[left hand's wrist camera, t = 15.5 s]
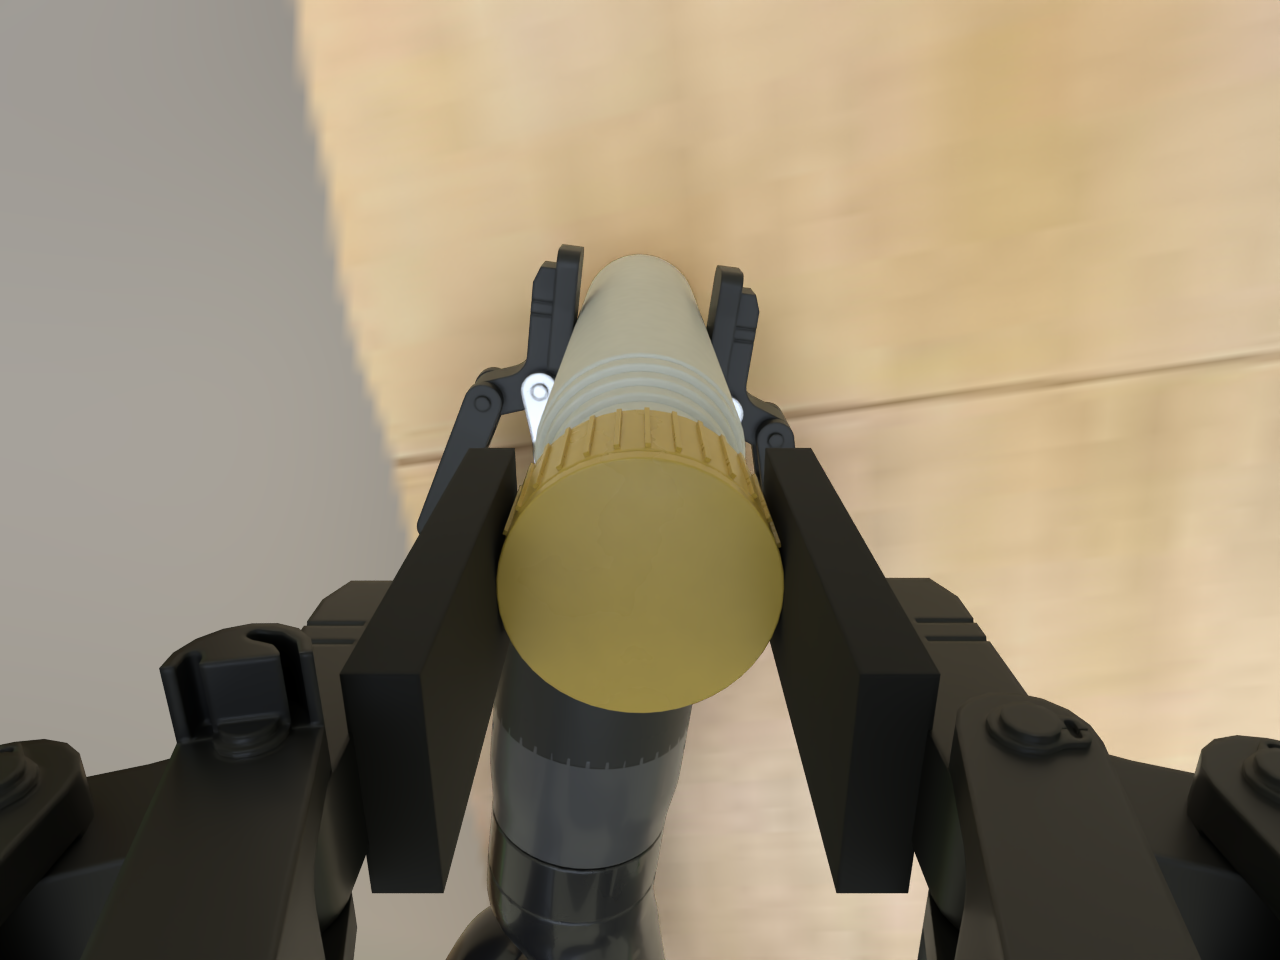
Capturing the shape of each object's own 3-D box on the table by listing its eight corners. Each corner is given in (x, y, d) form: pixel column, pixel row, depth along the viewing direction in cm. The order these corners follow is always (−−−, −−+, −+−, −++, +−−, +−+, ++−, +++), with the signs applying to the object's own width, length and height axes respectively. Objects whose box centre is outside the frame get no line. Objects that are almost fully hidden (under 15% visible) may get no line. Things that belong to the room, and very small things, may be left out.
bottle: (563, 290, 34) (434, 527, 12) (661, 232, 33) (699, 380, 12) (620, 384, 35) (589, 741, 14) (714, 331, 34) (836, 624, 13)
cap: (708, 664, 15) (720, 750, 13) (483, 589, 15) (455, 666, 13) (807, 457, 14) (838, 515, 12) (562, 367, 13) (546, 409, 11)
